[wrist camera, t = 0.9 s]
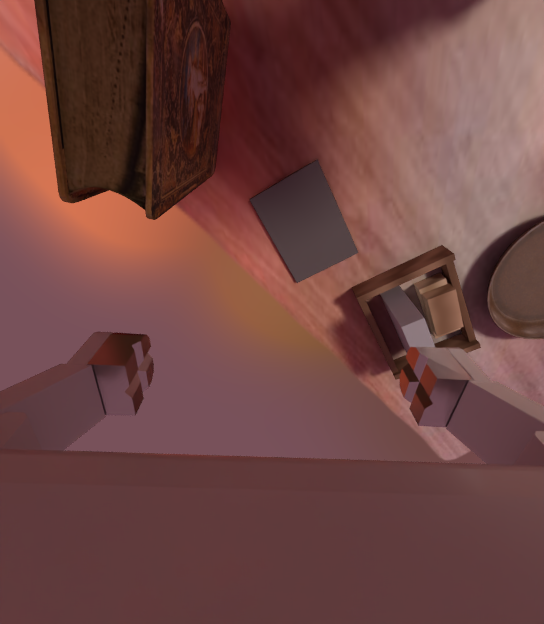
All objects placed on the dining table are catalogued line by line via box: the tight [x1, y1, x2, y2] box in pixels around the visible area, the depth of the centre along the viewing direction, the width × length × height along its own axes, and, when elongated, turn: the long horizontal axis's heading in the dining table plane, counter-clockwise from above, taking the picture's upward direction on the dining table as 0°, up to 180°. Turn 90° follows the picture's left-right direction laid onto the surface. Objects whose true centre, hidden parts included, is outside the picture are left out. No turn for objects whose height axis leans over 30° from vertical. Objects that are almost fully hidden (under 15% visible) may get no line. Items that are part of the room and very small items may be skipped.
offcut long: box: [414, 273, 461, 338], centre depth 50 cm, size 4×10×2 cm, turn 28°
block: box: [380, 286, 435, 353], centre depth 48 cm, size 3×12×10 cm, turn 29°
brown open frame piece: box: [352, 245, 481, 379], centre depth 50 cm, size 14×18×4 cm
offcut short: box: [422, 283, 464, 336], centre depth 48 cm, size 4×7×2 cm, turn 25°
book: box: [34, 0, 231, 220], centre depth 26 cm, size 16×6×25 cm, turn 168°
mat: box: [250, 160, 358, 283], centre depth 45 cm, size 10×14×1 cm
